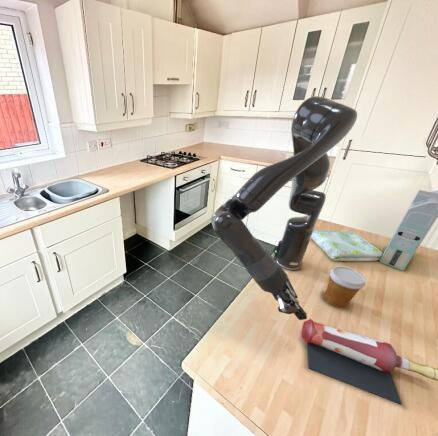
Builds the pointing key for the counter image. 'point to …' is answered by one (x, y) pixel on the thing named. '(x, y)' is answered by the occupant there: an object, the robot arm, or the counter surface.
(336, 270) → the disposable coffee cup
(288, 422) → the counter surface
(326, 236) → the towel
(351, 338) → the liquor
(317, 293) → the counter surface
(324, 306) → the counter surface
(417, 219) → the device
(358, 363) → the mat
